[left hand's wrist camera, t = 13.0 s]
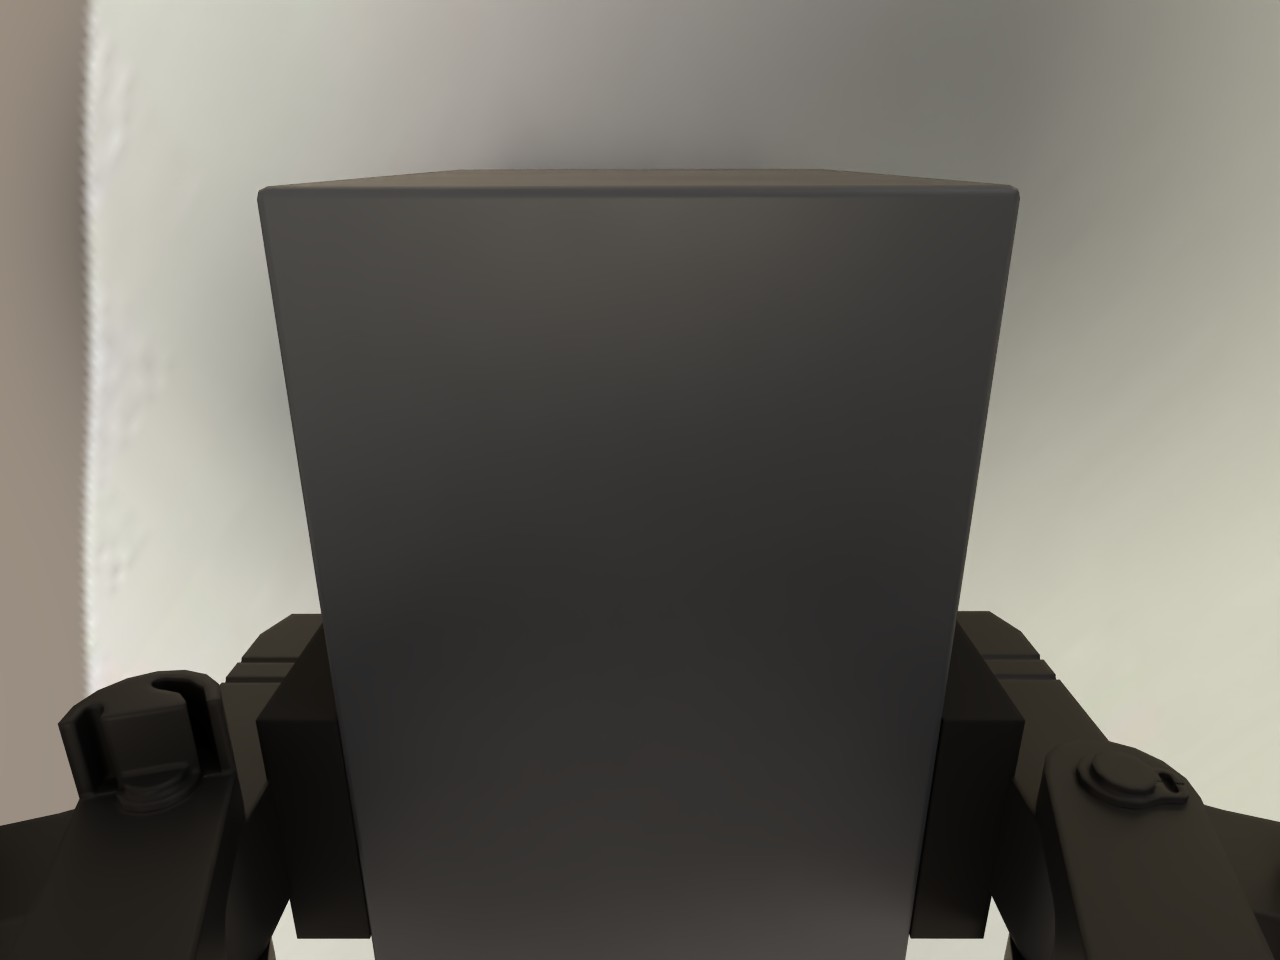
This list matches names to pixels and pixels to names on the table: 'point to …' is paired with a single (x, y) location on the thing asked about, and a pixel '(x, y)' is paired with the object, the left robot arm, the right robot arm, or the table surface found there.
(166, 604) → the table surface
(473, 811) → the bar
